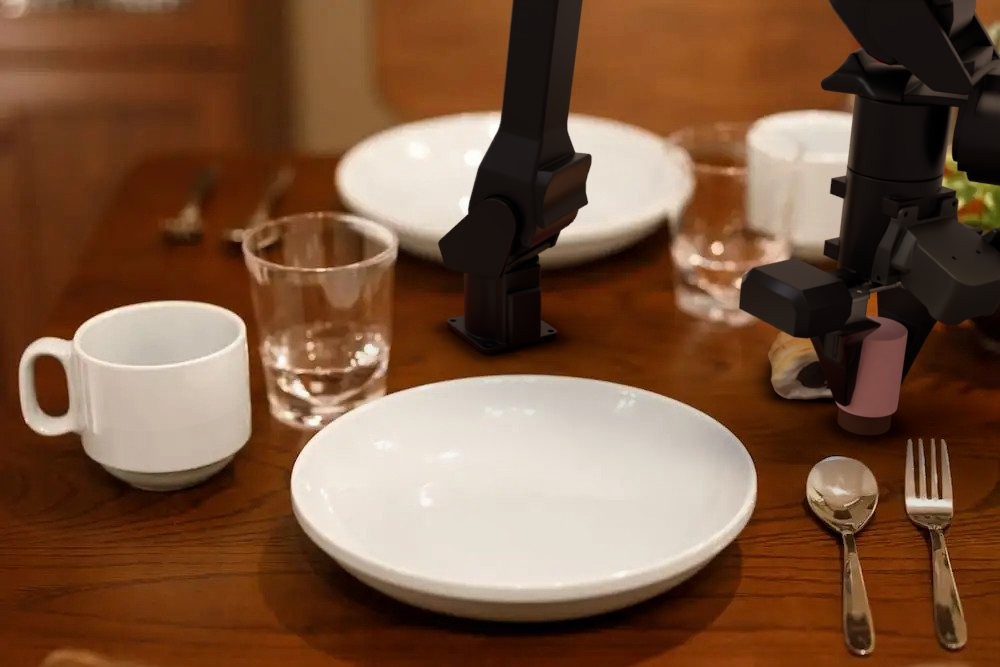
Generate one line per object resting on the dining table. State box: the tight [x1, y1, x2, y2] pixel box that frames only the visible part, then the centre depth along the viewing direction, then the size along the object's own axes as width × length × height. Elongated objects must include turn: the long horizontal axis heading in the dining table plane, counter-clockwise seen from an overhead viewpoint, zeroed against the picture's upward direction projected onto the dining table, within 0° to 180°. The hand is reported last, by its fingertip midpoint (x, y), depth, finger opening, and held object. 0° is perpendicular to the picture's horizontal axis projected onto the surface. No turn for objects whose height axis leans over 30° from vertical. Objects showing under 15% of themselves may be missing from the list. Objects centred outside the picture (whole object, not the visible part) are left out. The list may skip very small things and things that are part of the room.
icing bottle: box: [835, 315, 908, 437], centre depth 86 cm, size 4×4×7 cm
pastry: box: [767, 330, 834, 401], centre depth 93 cm, size 9×7×4 cm
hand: (866, 396), depth 86 cm, fingers closed on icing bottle, 4 cm apart
